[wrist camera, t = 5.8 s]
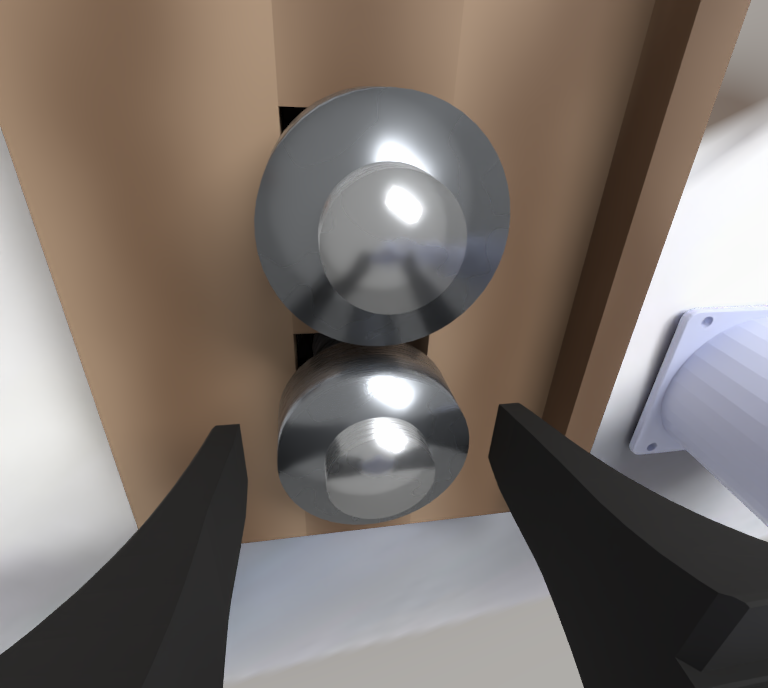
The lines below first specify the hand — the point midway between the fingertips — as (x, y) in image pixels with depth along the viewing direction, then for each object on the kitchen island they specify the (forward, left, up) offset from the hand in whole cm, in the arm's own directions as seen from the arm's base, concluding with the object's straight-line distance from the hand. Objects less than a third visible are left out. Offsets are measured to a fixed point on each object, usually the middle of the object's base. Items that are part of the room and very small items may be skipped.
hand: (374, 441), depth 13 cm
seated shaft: (0, -6, -6) cm, 8 cm away
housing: (0, -3, -6) cm, 6 cm away
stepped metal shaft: (0, 0, -6) cm, 6 cm away
